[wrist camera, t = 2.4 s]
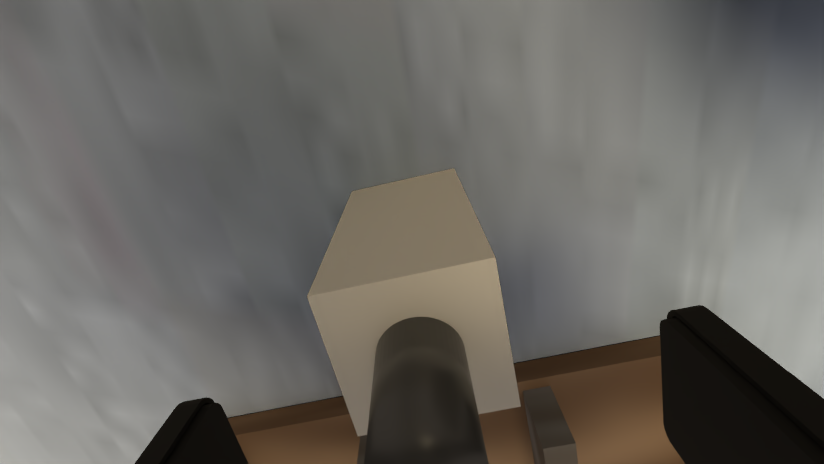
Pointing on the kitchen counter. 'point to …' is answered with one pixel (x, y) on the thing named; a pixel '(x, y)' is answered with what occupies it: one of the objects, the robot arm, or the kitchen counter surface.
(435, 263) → the cream plug
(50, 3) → the kitchen counter surface
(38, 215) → the kitchen counter surface
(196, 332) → the kitchen counter surface
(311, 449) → the wooden divided tray
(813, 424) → the robot arm
